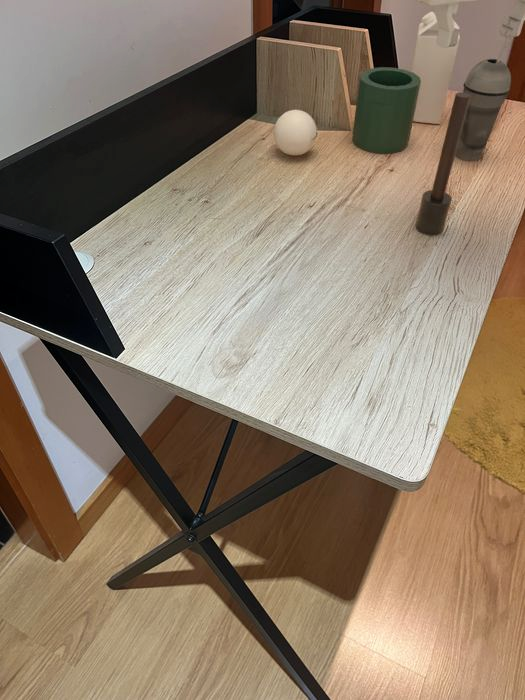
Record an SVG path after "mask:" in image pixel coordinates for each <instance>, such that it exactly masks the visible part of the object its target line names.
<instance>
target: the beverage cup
mask: <svg viewBox="0 0 525 700" xmlns="http://www.w3.org/2000/svg"><path fill="white" fill-rule="evenodd" d="M510 38H511V37H510ZM510 38H507V37H505V39H504V42H503V45H502V47H501V49H500V52H499V54H498V57H497V59H496V58H487V59H484V60H481V61H479V62H478V63H476V64H475V65H474V66H473V67H472V68H471V69H470V71H469V72H468V74H467V76H466V78H465V81H464V83H463V90H462V92H464V93H468V94H470V96H471V97H470V101H469V104H468V108H467V112H466V116H465V119H464V123H463V127H462V131H461V135H460V138H459V142H458V146H457V150H456V153H455V157H456V158H458V159H460V160H462V161H466V162H467V161H468V162H475V161H478V160H480V159H481V158H482V155H483V152H484V151H485V149H486V146H487V144H488V142H489V139H490V136H491V133H492V131H493V128H494V126H495V124H496V121H497V118H498V116H499V113H500V111H501V108H502V106H503V104H504V103H505V101H506V99H507V96H508V94H509V93H510V92H511V83H512V75H511V72H510V69H509V67H508V66H507V65H506V63H505V62H504V61H502V58H503V56H504V53H505V50H506V48H507V46H508V43H509V41H510Z"/></svg>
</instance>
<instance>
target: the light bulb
mask: <svg viewBox="0 0 525 700" xmlns="http://www.w3.org/2000/svg"><path fill="white" fill-rule="evenodd" d="M317 136H318V131H317V125H316V123H315V120H314V118H313V117H312V116H311V115H310V114H309V113H307V111H303V110H300V109H291V110H288V111H286V112H284V113H283V114H282V115H280V116H279V117H278V119H277V120H276V122H275V125H274V129H273V140H274V142H275V144H276V145H277V148H278V149H279V150H280V151H282V153H284V154H286V155H289V156H293V157H295V156H301V155H305V154H306V153H307V152H308V151H310V150H311V149H312V147H313V146H314V144H315V143H316V139H317Z"/></svg>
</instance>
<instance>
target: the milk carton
mask: <svg viewBox="0 0 525 700" xmlns="http://www.w3.org/2000/svg"><path fill="white" fill-rule="evenodd" d="M453 24H454V28H457V29H459V30H460V26H459V25H458V24H457V22H456V21H455V20H454V19H453ZM438 30H439V27H438V23H437V19H436V15H435V12H434V11H429V12H428V13H426V14H425V15H424V16H422V18H421V22H420V24H418V29H417V35H416V40H415V45H414V51H413V57H412V61H411V66H410V67H411V68H410V72H413V73H414V74H416V75H417V76H419V77H420V80H421V84H420V89H419V94H418V99H417V104H416V109H415V114H414V119H413V123H414V122H415V123H423V124H433V125H440V124H441V121H442V116H443V112H444V107H445V103H446V99H447V95H448V91H449V86H450V82H451V78H452V74H453V69H454V65H455V61H456V56H457V54H458V53H457V52H458V49H459V44H460V39H461V38H460V33H459V36H458V38H457V44H456V45H455V46H452V47H447V48H443V47H440V46H438V45H437V43H436V40H437V35H438Z"/></svg>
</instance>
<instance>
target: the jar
mask: <svg viewBox="0 0 525 700" xmlns="http://www.w3.org/2000/svg"><path fill="white" fill-rule="evenodd" d="M420 84H421V80H420V77H419V76H417V75H416V74H414V73H413V72H411V70H406V69H403V68H397V67H388V66H387V67H385V66H379V67H372V68H369V69H366V70H363V71H362V72H361V73H360V74H359V79H358V87H357V96H356V104H355V112H354V117H353V119H354V120H353V127H352V139H351V141H352V143H353V145H354V146H356V147H357V148H358V149H360V150H363V151H364V152H368V153H374V154H378V155H379V154H380V155H384V154H385V155H388V154H396V153H399V152H402V151H404V150H405V149H407V147H408V145H409V141H410V137H411V135H412V134H411V133H412V129H413V124H414V121H413V119H414V114H415V109H416V104H417V99H418V94H419V89H420Z"/></svg>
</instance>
